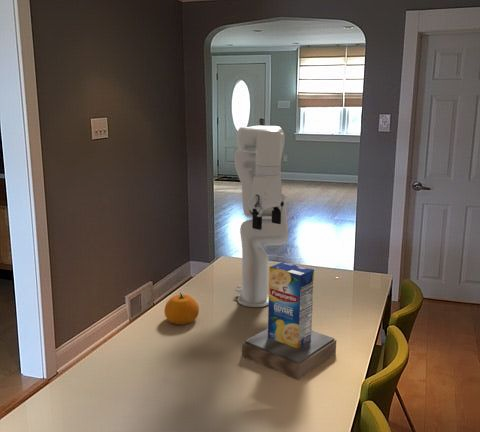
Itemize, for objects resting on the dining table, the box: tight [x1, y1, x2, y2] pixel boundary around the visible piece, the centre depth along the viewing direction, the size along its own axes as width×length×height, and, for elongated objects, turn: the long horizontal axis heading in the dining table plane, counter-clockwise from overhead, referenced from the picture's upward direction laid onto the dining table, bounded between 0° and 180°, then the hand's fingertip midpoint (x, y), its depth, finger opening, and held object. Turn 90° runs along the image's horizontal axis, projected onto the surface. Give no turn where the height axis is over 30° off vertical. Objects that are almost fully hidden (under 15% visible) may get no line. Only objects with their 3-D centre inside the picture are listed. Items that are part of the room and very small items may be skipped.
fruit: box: [164, 292, 200, 325], centre depth 176 cm, size 12×12×10 cm
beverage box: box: [267, 261, 315, 349], centre depth 150 cm, size 7×11×22 cm, turn 50°
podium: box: [241, 328, 337, 381], centre depth 153 cm, size 20×20×5 cm
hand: (266, 226), depth 159 cm, fingers open, 9 cm apart
